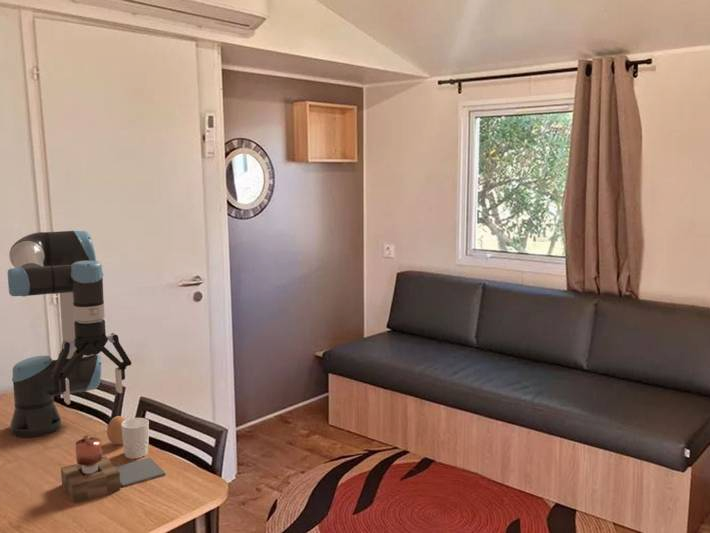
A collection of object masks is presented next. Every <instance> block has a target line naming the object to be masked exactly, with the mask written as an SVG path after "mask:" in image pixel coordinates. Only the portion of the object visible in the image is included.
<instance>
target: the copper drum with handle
mask: <svg viewBox="0 0 710 533" xmlns="http://www.w3.org/2000/svg"><path fill="white" fill-rule="evenodd" d="M75 455H76V464H80V465H82V475H83V476H86V475H89V474H93V473H97V472H98V462H99V461H101V460H102V457H103V452H102V439H101V438H99V437H95V436H94V437H93V436H91V437H89V436H88V435H87V434H86V435H83V436H82V439H79V440H77V441H76V442H75Z"/></svg>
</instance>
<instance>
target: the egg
mask: <svg viewBox="0 0 710 533" xmlns="http://www.w3.org/2000/svg"><path fill="white" fill-rule="evenodd" d="M125 420H126V418H124V417H123V416H121V415H117V416H114V417H113V418H112V419H111V420H110V421H109V423H108V425H107V429H106V430H107V432H106V435H107V438H108V440H109V441H110V443H111V444H114V445H116V446H118V445H123V438H122V427H121V424H122V422H124V421H125Z"/></svg>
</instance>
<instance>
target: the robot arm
mask: <svg viewBox="0 0 710 533" xmlns="http://www.w3.org/2000/svg"><path fill="white" fill-rule="evenodd" d="M93 242H94V241H93V240H92V237H91V235H90V233H89V232H88V231H85V230H61V231H48V232H47V231H41V232H40V231H39V232H34V233H31V234H28V235H26V236H23V237H22V238H20V239H18V240H17V241H15V242H14V243H13V245H12V246H11V247H10V251H9V254H8V255H9V261H10V263H11V265H12V266H13V268H9V269H8V270H7V284H8V293H9V296H11V297H22V298H23V297H24V298H25V297H27V296H40V295H41V296H42V295H52V294H53V295H54V294H59V304H60V305H59V306H60V320H61V324H60V325H61V338H62V340H61V341H62V344H61V351H59V353H58V354H57V355H58V357H57V359H53V358H52V356H50V355H36V356H31V357H27V358H25V359H22V360H21V361H18V362H17V363H15V365H13V367H12V377H11V381H12V385H13V399H14V411H13V414H12V417H11V422H10V424H9V425H10V426H9V427H10V428H9V429H10V430H9V431H10V434H11V435H13V436H14V437H19V438H34V437H35V438H36V437H41V436H44V435H47V434H50V433H53V432H55V431H57V430H59V429H60V427H62V418H61V415H60V412H59V411H58V408H57V406H56V404H55V397H56V396H60V395H63V399H64V400H63V401H64V403H66V405H70V404H71V394H74V393H85V392H89V391H93V390H94V391H95V390H97V388H98V387H99V386H100V383H101V379H102V378H101V377H102V356H101V355H100V353H102V354H104V355H105V357H107V358H108V359H109V360H110V361H111V362H113V363H114V364H115V365H116V366H117V367H115V368H114V374H115V391H116V392H117V393H118V394H123V381H124V380H126V372H125V370H126V369H127V367H128V366H130V367H131V365H132V360H131V359H130V358H129V356H128V354H127V353H126V352H125V349H124V348H123V347H122V345H121V343H120V341H119V335H118V334H116V333H114V332H112V333H110V335H107V334H106V331H107V330H106V320H105V319H104V318H105V317H106V315H105V301H104V300H105V299H104V282H103V281H104V280H103V279H104V278H103V277H104V273H103V265H102V263H101V262H100V261H98V260H97V256H96V251H95V247H94V243H93ZM108 342H109V343H111V344H112V345H113V347H114V349H115V350H116V352H117V353H118V356H119V357H120V358H121V360H122V361H120V360H119V358H117V357H116V356H115V355H114V354H112V352H110V350H109V349H107V348H106V347H105V346H106V344H107V343H108ZM54 396H55V397H54Z"/></svg>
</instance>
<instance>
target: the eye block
mask: <svg viewBox="0 0 710 533" xmlns="http://www.w3.org/2000/svg"><path fill="white" fill-rule="evenodd" d="M115 467H116V466H115V465H114V464H113V462H111V461H110V460H109V458H108V457H107V455H105V456H102V460H101V461H99V462H98V472H97V473H93V474H89V475H86V476H83V475H82V465H80V464H78V463H73V464H71V465H70V464H69V465H67V466H66V465H65V466H63V467H60V473H61V474H60V475H61V485H62V487H63V489H64V490H65V492H66V493H67V494H68V496H69V498H70V499H71V501H72V503H73V504H75V503H79V502H82V501H86V500H90V499H93V498H97V497H101V496H104V495H106V494H110V493H113V492H114V493H115V492H118V491H120V490H121V484H120V472H119V471H118V470H117V469H116V468H115Z"/></svg>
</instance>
